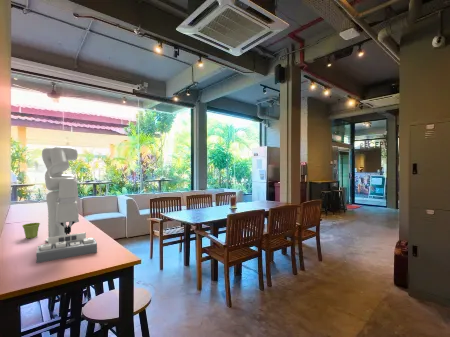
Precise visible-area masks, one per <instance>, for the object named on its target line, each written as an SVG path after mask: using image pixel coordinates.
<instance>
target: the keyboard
mask: <svg viewBox="0 0 450 337" xmlns="http://www.w3.org/2000/svg"><path fill="white" fill-rule="evenodd" d="M47 238H48V242H47V244H50V243H52V249H47V250H41V251H40V247H41V245H38V246H37V249H36V253H35V254H36V255H35V257H36V258H35V260H36V264H39V263H44V262H45V263H46V262H48V261H56V260H61V259H67V258H72V257H77V256H83V255H90V254H94V253H98V242H97V241H96V238H95V237H92V238H93V242H92V243H86V244H83V239H85V238H87V232H79V233H72V234H67V235H63V236H55V237H47ZM64 241H66V247H60V248H56V243H57V242H64ZM73 242H80V244H79V245H73V246H70V243H73Z"/></svg>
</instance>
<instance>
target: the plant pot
mask: <svg viewBox="0 0 450 337" xmlns="http://www.w3.org/2000/svg"><path fill="white" fill-rule="evenodd" d="M40 225H41V223H40V222H31V223H25V224H22V228H23V230H24V231H23V232H24V237H25V239H27V240H28V239H34V238H37V237H38V232H39V227H40Z"/></svg>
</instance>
